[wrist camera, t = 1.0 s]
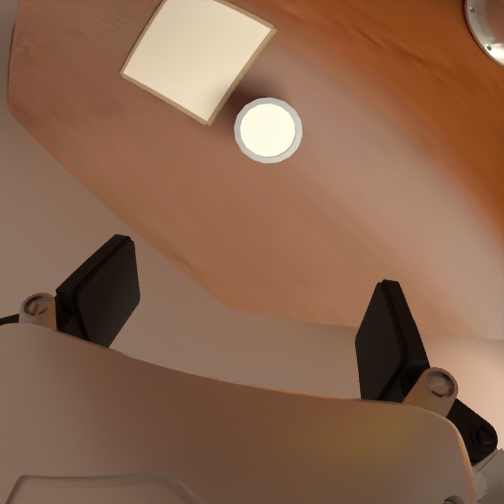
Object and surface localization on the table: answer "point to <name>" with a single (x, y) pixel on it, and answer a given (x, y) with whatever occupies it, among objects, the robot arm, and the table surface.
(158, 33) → the plate
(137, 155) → the table surface
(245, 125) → the short white cylinder
